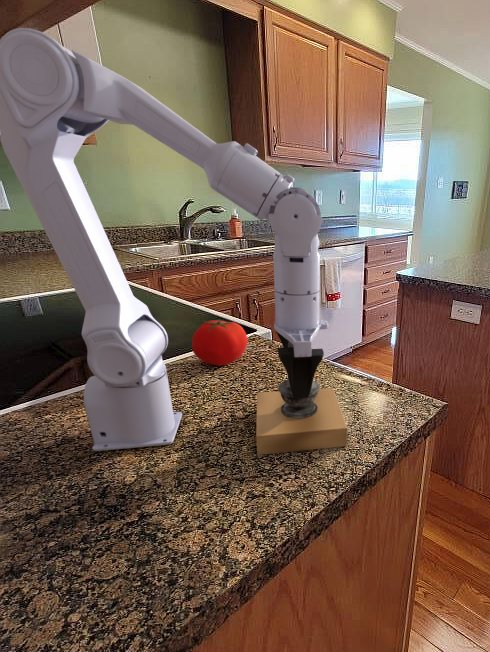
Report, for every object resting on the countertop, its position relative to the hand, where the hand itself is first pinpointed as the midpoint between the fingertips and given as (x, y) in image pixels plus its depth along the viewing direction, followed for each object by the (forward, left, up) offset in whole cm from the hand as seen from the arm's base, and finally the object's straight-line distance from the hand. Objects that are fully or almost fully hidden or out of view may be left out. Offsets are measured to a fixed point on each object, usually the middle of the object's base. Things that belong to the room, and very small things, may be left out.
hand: (298, 384), depth 56 cm
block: (0, 0, -7) cm, 7 cm away
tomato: (-13, +26, -7) cm, 30 cm away
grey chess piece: (0, 0, -4) cm, 4 cm away
